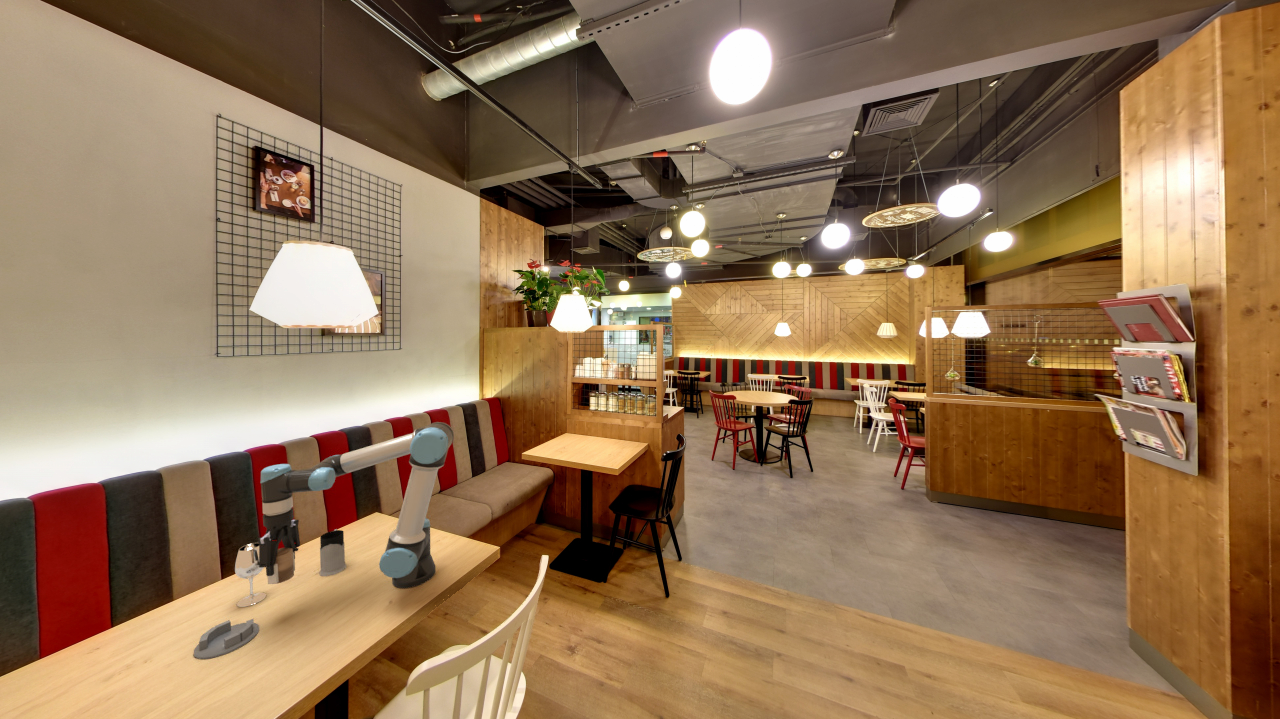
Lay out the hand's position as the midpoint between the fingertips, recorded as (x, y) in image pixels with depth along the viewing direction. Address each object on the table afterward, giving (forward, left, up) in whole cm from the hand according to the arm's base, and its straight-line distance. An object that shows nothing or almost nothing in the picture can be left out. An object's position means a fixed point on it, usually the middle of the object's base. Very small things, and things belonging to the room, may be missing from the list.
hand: (281, 576), depth 131 cm
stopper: (0, 0, -1) cm, 1 cm away
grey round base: (+8, +10, -14) cm, 19 cm away
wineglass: (+18, -10, -14) cm, 25 cm away
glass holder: (+3, -30, -14) cm, 33 cm away
